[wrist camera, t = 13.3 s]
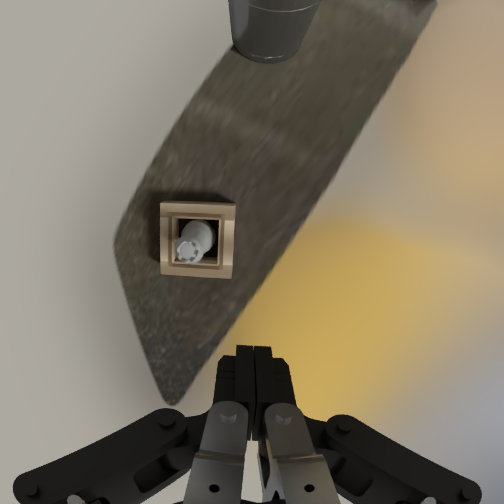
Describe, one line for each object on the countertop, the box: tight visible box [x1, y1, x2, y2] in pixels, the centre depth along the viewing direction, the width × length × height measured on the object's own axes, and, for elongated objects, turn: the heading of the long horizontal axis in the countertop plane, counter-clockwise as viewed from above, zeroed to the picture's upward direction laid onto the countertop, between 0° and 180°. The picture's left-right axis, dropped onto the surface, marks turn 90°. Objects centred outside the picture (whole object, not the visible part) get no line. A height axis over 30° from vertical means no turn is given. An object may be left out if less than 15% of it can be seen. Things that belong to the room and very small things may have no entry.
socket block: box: [160, 200, 236, 279], centre depth 37 cm, size 9×9×3 cm
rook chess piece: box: [175, 219, 216, 264], centre depth 34 cm, size 4×4×8 cm
